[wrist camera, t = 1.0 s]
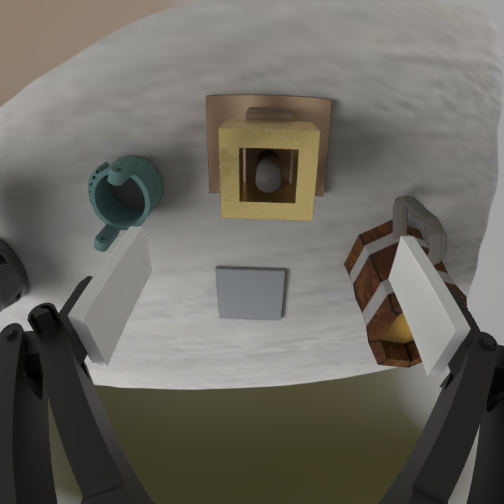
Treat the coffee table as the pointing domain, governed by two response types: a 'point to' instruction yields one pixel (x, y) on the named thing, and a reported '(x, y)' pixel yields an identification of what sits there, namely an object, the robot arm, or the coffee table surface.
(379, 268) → the mug
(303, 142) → the hollow wooden square frame
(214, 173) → the post stand
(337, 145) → the coffee table surface
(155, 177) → the bracket
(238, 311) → the felt mat
